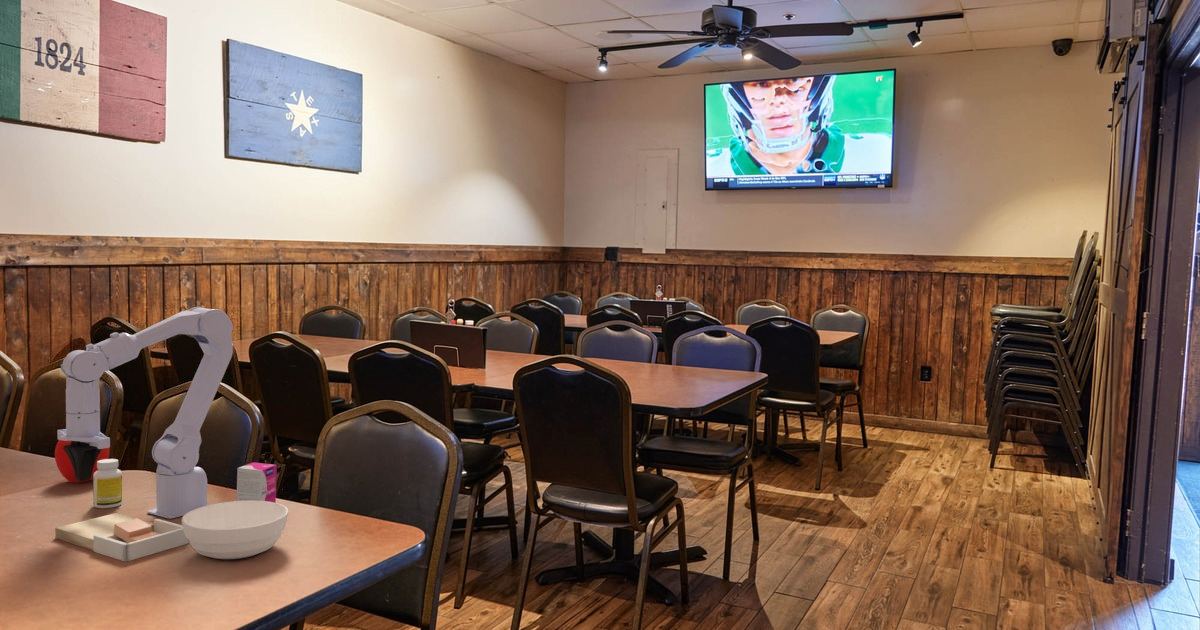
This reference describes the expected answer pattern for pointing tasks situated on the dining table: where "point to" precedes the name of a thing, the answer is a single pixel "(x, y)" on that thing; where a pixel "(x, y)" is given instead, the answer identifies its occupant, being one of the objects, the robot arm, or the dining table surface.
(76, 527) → the plate
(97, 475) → the supplement bottle
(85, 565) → the dining table surface
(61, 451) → the tomato
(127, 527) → the tile
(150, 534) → the tile
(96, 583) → the dining table surface
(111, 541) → the tray
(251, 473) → the supplement box
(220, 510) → the bowl
